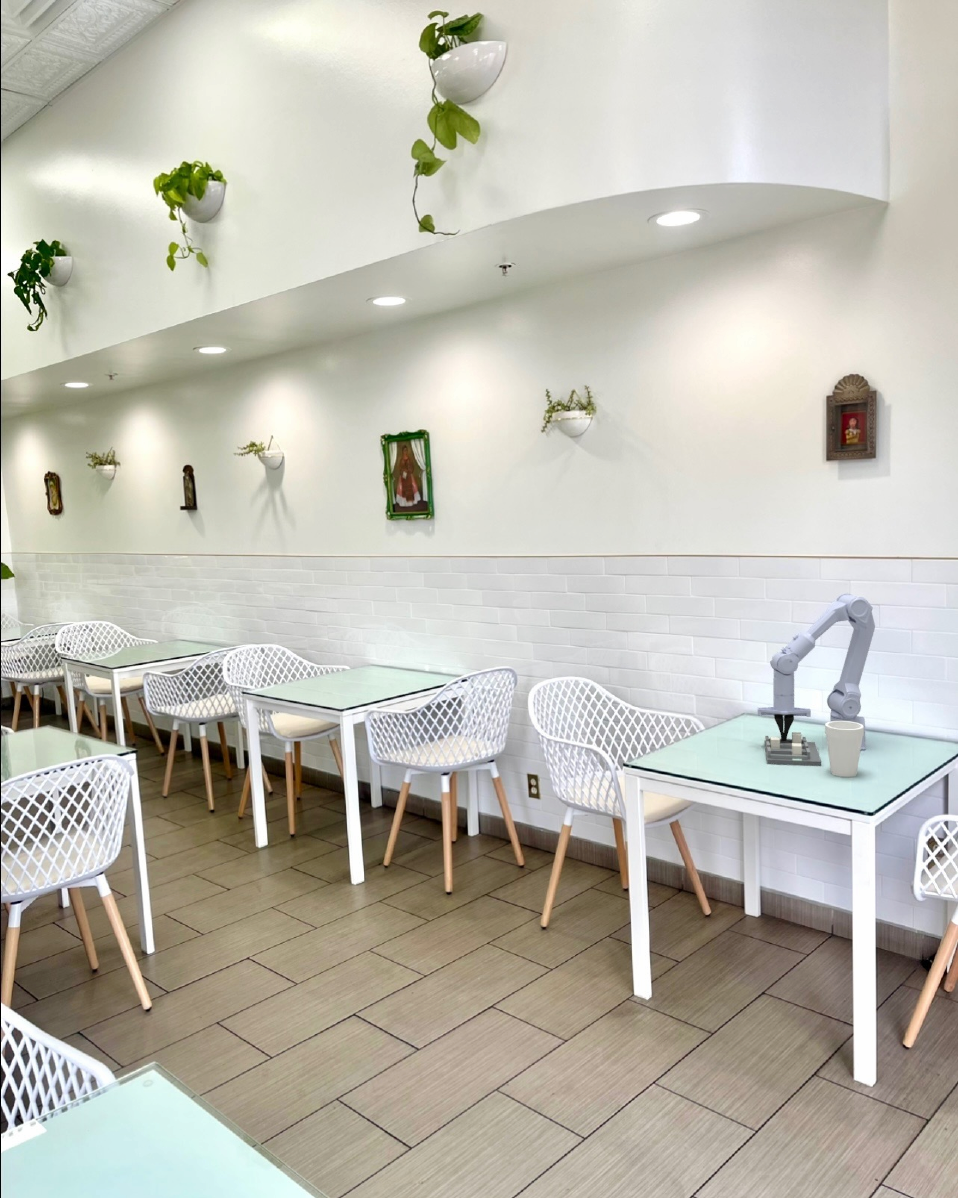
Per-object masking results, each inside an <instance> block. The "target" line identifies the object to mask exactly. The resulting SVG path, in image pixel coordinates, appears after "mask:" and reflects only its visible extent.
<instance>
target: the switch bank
mask: <svg viewBox="0 0 958 1198" xmlns="http://www.w3.org/2000/svg"><path fill="white" fill-rule="evenodd" d="M764 736H765V739H764V749H765V756H766V763H767V765H783V766H785V765H787V766H788V765H789V766H810V767H811V766H813V767H815V766H816V767H822V760H821V757H820V753H819V751H818V748H817V745H816V743H815V742H814V741H807V738H806V736H802V737H801V746H802V755H792V738H787V741H781V738H780V749H772V748H770V737H769V735H764Z"/></svg>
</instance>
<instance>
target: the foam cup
mask: <svg viewBox="0 0 958 1198" xmlns="http://www.w3.org/2000/svg"><path fill="white" fill-rule="evenodd" d="M824 733H825V739H826V745H827V753H828V761H829V767H830V768H829V769H830V773H831V774H832V775H833V776H835V777H836V776H837V777H839V778H841V777H842V778H852V777H853V778H854V777H856V776H857V774H858V769H859V762H860V757H861V751H862V750H861V744H862V737H863V736H864V726H863V725H862V724H859V723H856V722H850V721H832V722H830V721H828V722H825V723H824Z"/></svg>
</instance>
